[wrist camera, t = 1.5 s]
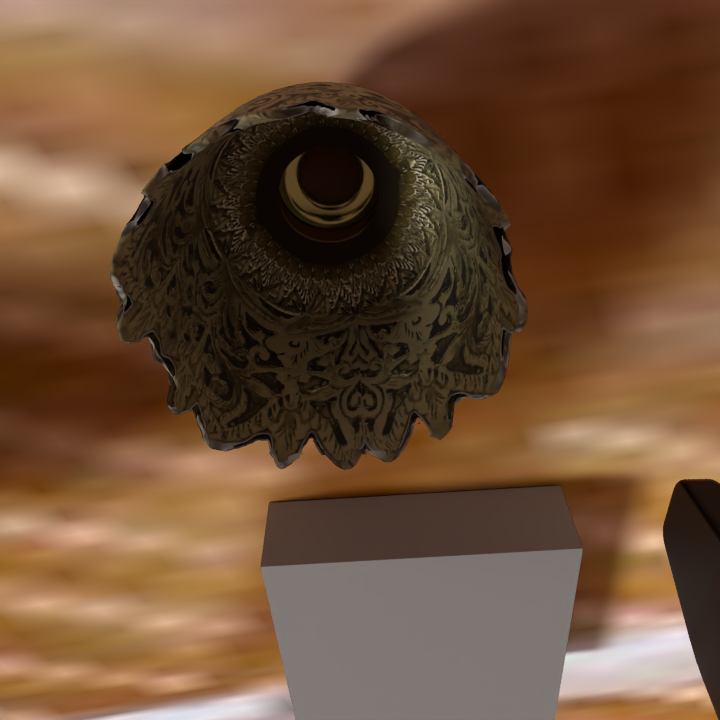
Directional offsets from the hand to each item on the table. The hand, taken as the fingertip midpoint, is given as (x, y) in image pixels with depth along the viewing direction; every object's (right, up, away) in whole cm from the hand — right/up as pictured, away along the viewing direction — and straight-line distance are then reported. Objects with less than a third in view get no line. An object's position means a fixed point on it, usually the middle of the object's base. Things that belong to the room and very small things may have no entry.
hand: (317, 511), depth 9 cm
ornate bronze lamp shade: (0, +7, +10) cm, 13 cm away
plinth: (+3, -8, +20) cm, 22 cm away
